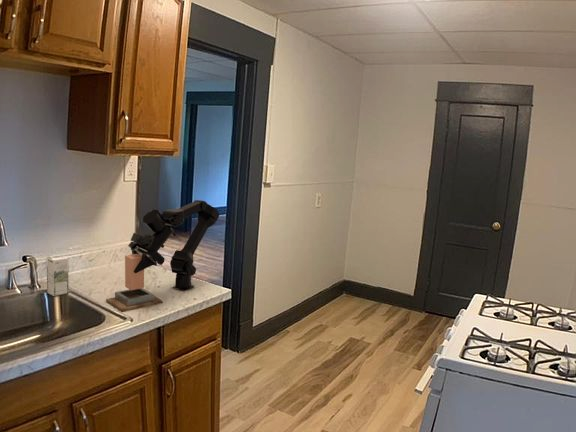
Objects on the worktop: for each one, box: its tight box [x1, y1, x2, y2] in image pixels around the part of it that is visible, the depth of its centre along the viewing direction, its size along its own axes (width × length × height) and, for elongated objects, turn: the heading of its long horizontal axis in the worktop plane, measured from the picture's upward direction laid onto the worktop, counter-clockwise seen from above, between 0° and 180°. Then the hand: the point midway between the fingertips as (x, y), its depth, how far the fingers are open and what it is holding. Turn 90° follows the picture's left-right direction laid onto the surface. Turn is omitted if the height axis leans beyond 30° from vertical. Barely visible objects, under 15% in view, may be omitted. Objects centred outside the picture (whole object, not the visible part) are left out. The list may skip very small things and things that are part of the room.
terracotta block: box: [124, 254, 145, 290], centre depth 172 cm, size 5×5×12 cm
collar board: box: [105, 288, 163, 313], centre depth 174 cm, size 16×13×4 cm
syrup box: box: [46, 254, 70, 297], centre depth 177 cm, size 6×6×14 cm
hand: (131, 270), depth 171 cm, fingers closed on terracotta block, 5 cm apart
